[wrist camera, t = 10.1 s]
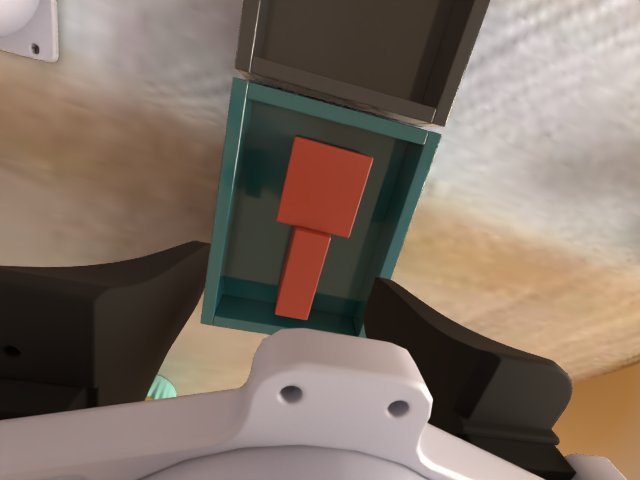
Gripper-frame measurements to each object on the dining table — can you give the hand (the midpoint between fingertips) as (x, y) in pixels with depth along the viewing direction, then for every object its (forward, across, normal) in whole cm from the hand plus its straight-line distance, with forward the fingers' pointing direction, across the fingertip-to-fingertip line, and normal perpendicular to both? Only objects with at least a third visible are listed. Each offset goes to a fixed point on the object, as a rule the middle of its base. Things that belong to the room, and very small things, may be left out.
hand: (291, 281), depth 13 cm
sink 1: (+9, -1, 0) cm, 9 cm away
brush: (+9, -1, 0) cm, 9 cm away
